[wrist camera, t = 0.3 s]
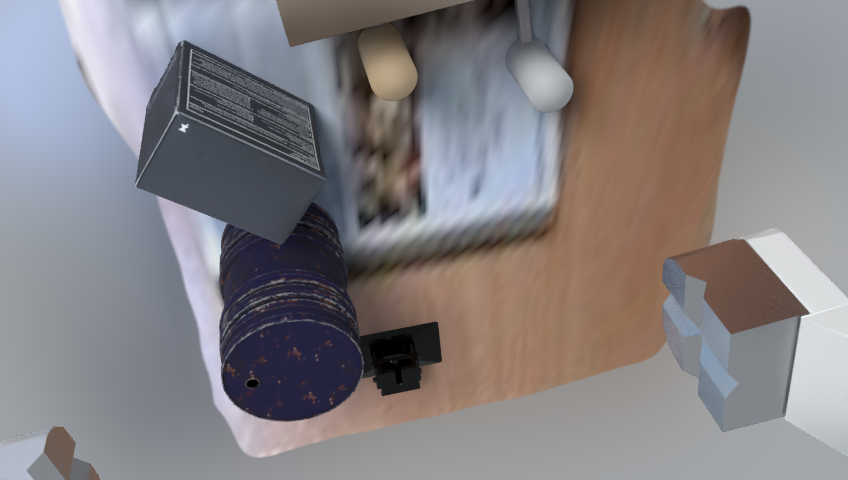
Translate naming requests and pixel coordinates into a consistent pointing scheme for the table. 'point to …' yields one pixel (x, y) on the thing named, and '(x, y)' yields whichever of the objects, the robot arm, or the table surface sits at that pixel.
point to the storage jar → (288, 321)
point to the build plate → (400, 356)
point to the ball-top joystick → (537, 67)
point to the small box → (230, 145)
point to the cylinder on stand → (387, 62)
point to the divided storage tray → (347, 15)
